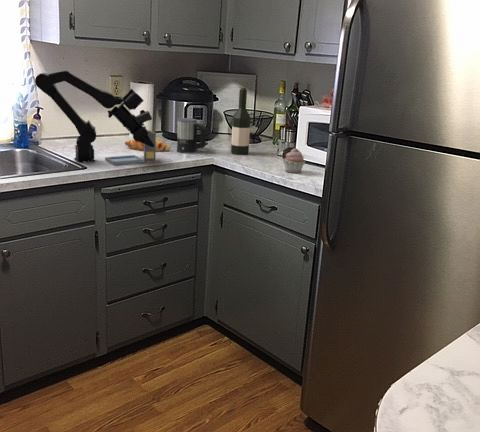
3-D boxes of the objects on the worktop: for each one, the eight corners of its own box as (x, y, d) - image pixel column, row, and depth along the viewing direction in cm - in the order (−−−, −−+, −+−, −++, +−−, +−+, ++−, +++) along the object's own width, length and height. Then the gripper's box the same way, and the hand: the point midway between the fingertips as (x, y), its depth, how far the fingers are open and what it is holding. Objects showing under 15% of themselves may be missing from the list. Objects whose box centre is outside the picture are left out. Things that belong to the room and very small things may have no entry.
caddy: (144, 162, 235) (144, 131, 231) (143, 159, 240) (143, 129, 236) (155, 162, 236) (155, 132, 232) (154, 159, 241) (154, 129, 237)
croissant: (171, 157, 264) (173, 141, 265) (168, 151, 254) (170, 134, 255) (126, 153, 264) (128, 137, 266) (121, 147, 254) (123, 130, 256)
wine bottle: (246, 155, 260) (250, 89, 251) (228, 154, 261) (232, 87, 252) (250, 152, 268) (254, 87, 259) (232, 150, 269) (236, 86, 260)
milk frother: (175, 152, 257) (175, 120, 253) (178, 146, 272) (179, 115, 268) (206, 154, 257) (207, 122, 253) (208, 148, 272) (209, 117, 268)
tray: (114, 165, 226) (113, 161, 226) (105, 160, 233) (105, 157, 233) (143, 162, 233) (143, 159, 233) (134, 158, 240) (134, 155, 240)
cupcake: (291, 175, 228) (293, 150, 225) (277, 170, 235) (279, 146, 232) (309, 173, 233) (311, 149, 230) (294, 168, 240) (296, 145, 237)
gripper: (142, 107, 221) (169, 135, 227) (138, 101, 239) (164, 128, 245) (121, 127, 222) (149, 155, 228) (119, 119, 239) (145, 146, 245)
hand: (152, 145), depth 236 cm, fingers closed on caddy, 5 cm apart
